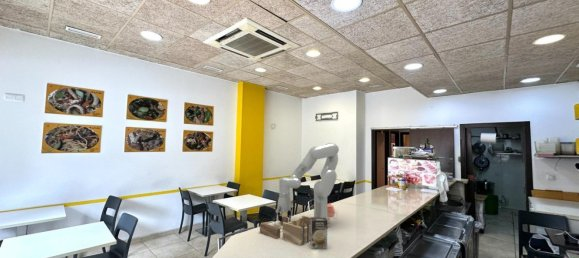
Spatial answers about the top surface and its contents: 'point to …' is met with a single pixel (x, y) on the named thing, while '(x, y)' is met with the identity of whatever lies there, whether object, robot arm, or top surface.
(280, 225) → the lid
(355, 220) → the top surface
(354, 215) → the top surface
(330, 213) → the pink lumpy piece
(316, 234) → the coffee box
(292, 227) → the open wooden box
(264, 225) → the plank
